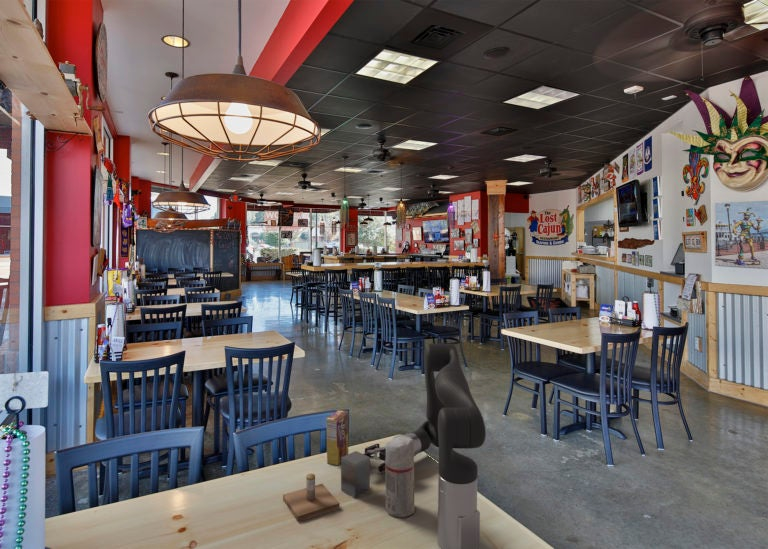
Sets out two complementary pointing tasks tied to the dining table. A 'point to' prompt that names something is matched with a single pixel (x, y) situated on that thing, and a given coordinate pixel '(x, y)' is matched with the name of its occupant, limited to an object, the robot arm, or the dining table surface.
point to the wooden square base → (310, 500)
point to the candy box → (337, 437)
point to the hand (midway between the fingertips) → (369, 464)
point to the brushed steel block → (355, 474)
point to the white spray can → (400, 476)
